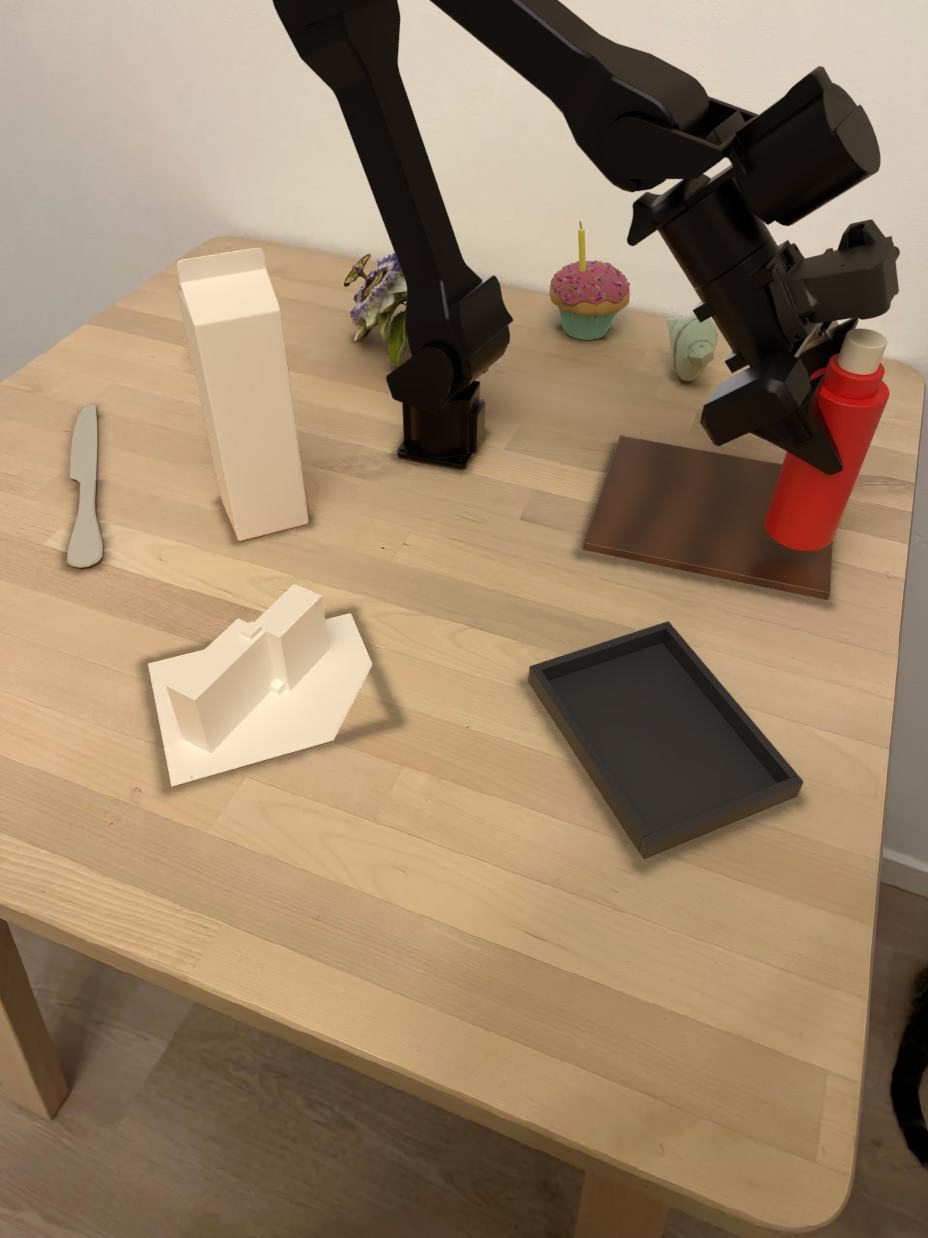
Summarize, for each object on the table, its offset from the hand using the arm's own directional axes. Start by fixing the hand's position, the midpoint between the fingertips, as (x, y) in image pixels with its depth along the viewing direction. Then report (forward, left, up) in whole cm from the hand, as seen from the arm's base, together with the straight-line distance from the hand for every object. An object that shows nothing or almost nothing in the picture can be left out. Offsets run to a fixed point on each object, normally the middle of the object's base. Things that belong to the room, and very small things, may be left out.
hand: (846, 452), depth 66 cm
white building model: (-35, -24, -12) cm, 44 cm away
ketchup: (-1, 0, -8) cm, 8 cm away
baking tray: (-9, -20, -11) cm, 25 cm away
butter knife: (-60, -7, -11) cm, 62 cm away
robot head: (-13, +27, -12) cm, 32 cm away
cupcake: (-25, +34, -12) cm, 43 cm away
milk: (-44, -6, -12) cm, 46 cm away
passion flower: (-43, +25, -12) cm, 51 cm away
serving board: (-8, +5, -11) cm, 15 cm away
